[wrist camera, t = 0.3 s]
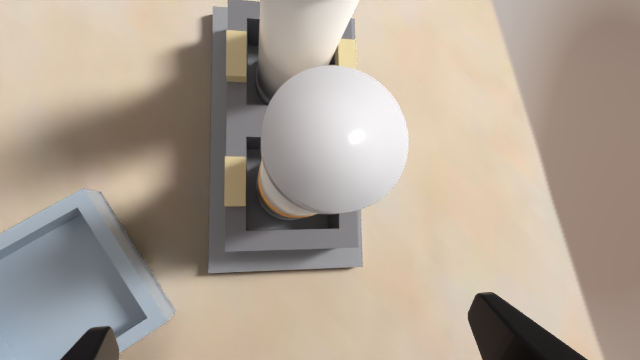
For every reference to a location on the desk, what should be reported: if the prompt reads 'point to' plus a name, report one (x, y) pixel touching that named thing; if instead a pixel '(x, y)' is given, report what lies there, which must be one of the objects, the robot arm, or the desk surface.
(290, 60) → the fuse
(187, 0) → the desk surface
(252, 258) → the block
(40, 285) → the tray
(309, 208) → the white round-topped piece
